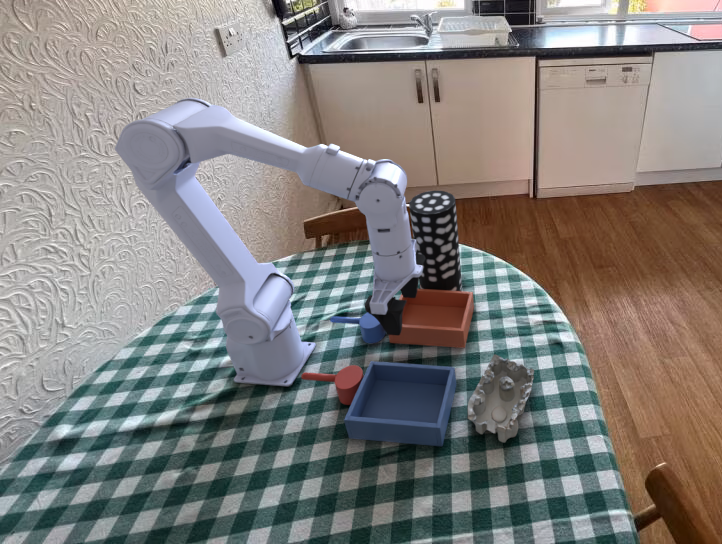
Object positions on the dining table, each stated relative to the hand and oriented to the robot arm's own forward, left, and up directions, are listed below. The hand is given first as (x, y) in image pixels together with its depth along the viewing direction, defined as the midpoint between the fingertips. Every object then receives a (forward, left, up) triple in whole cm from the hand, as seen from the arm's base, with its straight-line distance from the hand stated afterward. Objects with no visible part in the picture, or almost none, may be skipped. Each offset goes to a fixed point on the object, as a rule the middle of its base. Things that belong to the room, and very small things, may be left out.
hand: (402, 313), depth 65 cm
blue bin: (+3, -9, -9) cm, 13 cm away
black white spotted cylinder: (+2, +16, +1) cm, 16 cm away
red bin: (+3, +7, -9) cm, 12 cm away
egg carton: (+17, -7, -9) cm, 20 cm away
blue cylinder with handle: (-10, +4, -9) cm, 14 cm away
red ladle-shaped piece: (-9, -7, -9) cm, 15 cm away
